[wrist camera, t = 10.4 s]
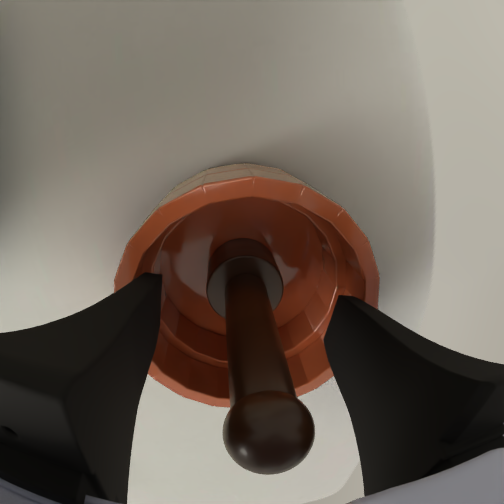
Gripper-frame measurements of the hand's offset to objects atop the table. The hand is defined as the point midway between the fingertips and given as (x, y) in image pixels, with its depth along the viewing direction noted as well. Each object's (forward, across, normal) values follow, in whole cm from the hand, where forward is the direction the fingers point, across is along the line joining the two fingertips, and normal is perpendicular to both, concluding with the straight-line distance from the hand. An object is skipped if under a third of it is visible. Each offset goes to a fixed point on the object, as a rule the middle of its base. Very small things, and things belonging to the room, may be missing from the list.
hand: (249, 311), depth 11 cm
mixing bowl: (+4, 0, 0) cm, 4 cm away
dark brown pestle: (+3, 0, 0) cm, 3 cm away
